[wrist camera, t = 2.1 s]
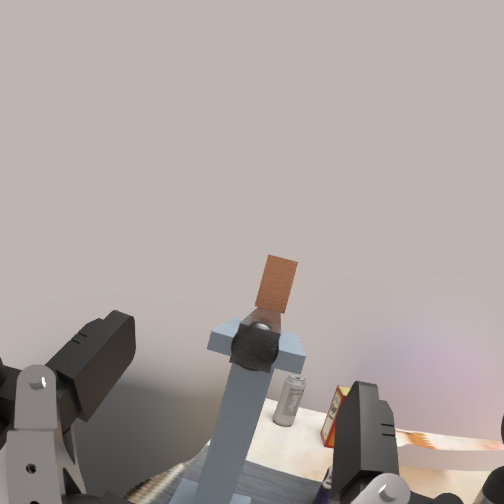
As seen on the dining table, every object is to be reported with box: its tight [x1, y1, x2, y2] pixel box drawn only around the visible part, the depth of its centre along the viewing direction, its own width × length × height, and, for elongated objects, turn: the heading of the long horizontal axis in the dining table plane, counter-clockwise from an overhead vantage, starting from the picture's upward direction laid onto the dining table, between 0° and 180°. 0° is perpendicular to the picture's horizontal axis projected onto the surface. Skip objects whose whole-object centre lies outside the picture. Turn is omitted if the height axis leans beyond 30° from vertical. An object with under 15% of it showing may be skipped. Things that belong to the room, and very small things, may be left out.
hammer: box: [229, 255, 298, 373], centre depth 34 cm, size 23×4×10 cm, turn 175°
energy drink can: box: [273, 374, 306, 426], centre depth 86 cm, size 6×6×15 cm
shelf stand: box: [169, 318, 306, 504], centre depth 39 cm, size 16×12×32 cm
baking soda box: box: [321, 385, 351, 448], centre depth 78 cm, size 10×6×16 cm
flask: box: [312, 466, 333, 504], centre depth 43 cm, size 9×3×11 cm, turn 157°
